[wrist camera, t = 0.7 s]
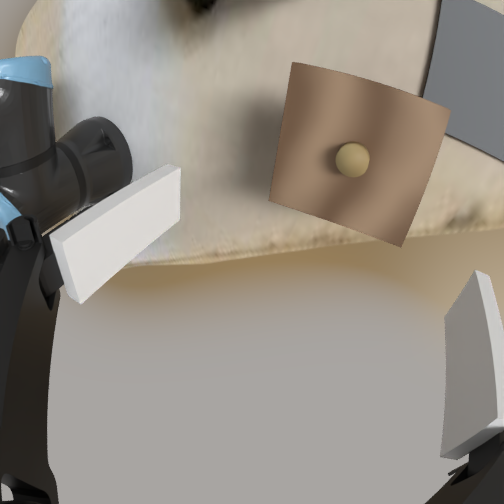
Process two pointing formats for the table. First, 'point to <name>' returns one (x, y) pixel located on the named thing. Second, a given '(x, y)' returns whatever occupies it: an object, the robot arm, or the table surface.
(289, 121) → the lid
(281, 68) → the table surface
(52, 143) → the robot arm
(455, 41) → the mat
